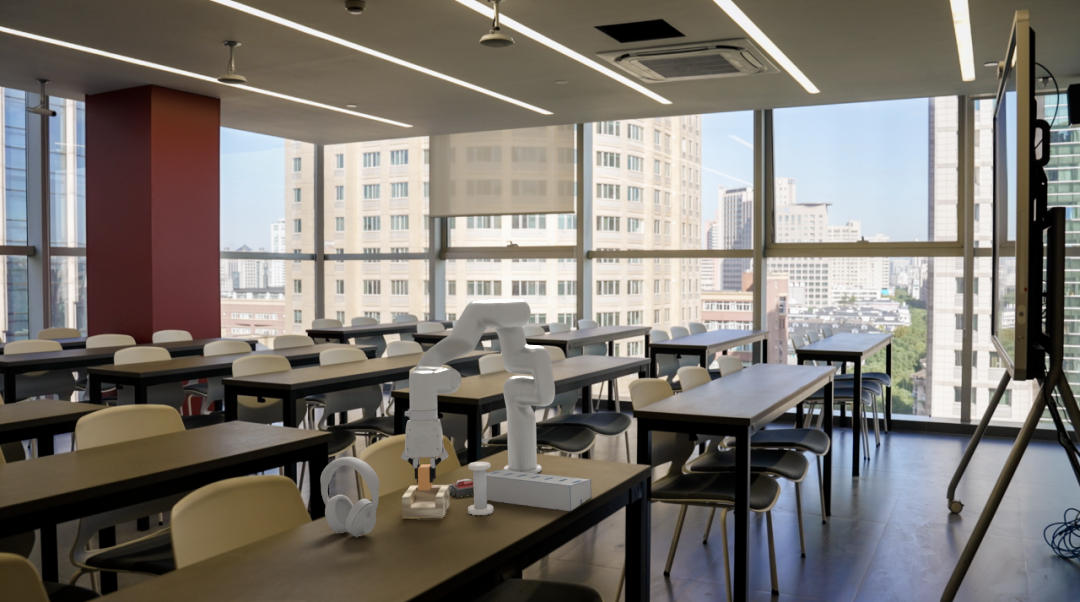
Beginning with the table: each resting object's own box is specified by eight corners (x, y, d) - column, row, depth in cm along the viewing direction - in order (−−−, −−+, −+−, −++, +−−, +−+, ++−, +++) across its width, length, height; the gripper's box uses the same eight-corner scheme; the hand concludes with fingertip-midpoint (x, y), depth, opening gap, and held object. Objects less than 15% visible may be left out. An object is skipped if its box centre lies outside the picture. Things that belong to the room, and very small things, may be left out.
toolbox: (485, 486, 242) (423, 495, 233) (485, 472, 242) (423, 481, 233) (496, 493, 234) (432, 503, 225) (496, 478, 234) (432, 488, 225)
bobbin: (469, 508, 218) (468, 461, 217) (494, 507, 218) (493, 461, 217) (466, 515, 211) (465, 467, 210) (492, 515, 211) (490, 467, 210)
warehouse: (591, 498, 226) (590, 472, 225) (570, 512, 213) (570, 485, 213) (501, 487, 239) (501, 463, 239) (477, 500, 227) (476, 474, 226)
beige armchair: (411, 506, 221) (410, 485, 221) (449, 505, 221) (449, 484, 220) (402, 519, 209) (401, 497, 209) (443, 519, 209) (442, 496, 208)
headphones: (389, 535, 196) (386, 457, 196) (367, 545, 189) (365, 464, 189) (336, 525, 205) (333, 450, 205) (313, 534, 199) (311, 456, 198)
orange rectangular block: (421, 486, 217) (421, 464, 217) (432, 485, 217) (432, 464, 217) (418, 490, 212) (417, 468, 212) (429, 490, 212) (428, 468, 212)
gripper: (391, 418, 210) (393, 485, 211) (451, 417, 210) (452, 484, 210) (397, 413, 218) (399, 478, 218) (455, 412, 217) (456, 477, 218)
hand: (425, 480), depth 214 cm, fingers closed on orange rectangular block, 2 cm apart
